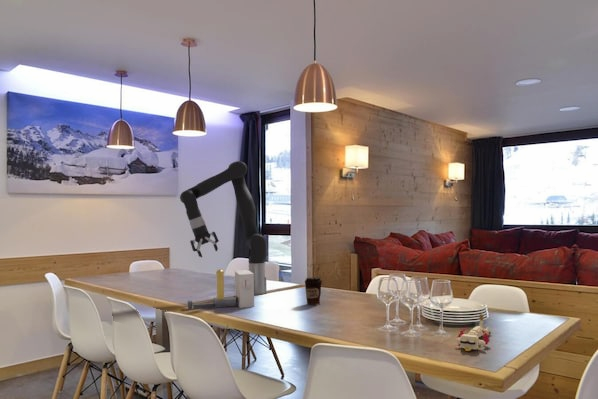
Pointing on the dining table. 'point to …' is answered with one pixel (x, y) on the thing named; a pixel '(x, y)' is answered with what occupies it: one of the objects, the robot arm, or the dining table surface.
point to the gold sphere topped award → (222, 292)
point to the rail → (202, 305)
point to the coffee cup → (313, 290)
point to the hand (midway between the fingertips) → (209, 254)
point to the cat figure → (474, 337)
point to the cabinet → (244, 288)
